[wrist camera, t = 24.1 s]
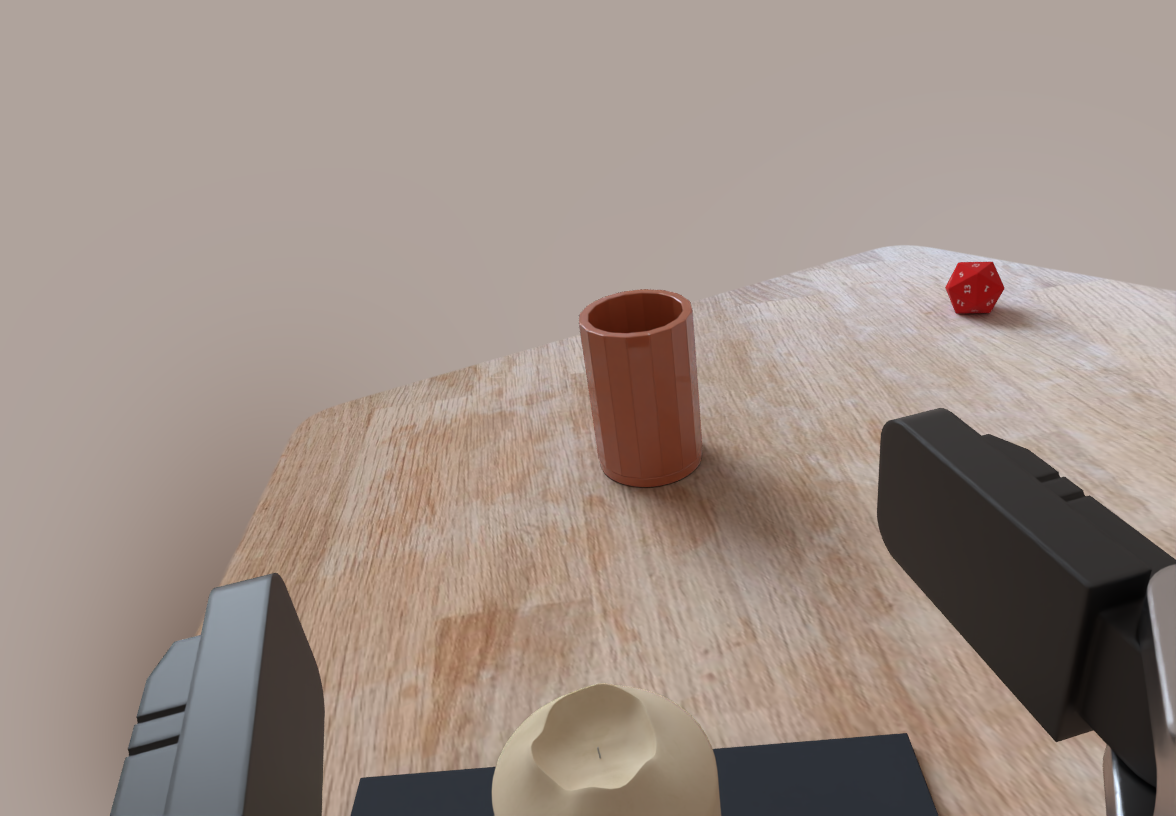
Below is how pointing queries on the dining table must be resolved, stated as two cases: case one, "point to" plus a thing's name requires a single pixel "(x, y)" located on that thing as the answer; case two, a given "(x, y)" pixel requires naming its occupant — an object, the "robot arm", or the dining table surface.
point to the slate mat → (745, 776)
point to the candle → (607, 759)
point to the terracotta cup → (643, 386)
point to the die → (974, 287)
